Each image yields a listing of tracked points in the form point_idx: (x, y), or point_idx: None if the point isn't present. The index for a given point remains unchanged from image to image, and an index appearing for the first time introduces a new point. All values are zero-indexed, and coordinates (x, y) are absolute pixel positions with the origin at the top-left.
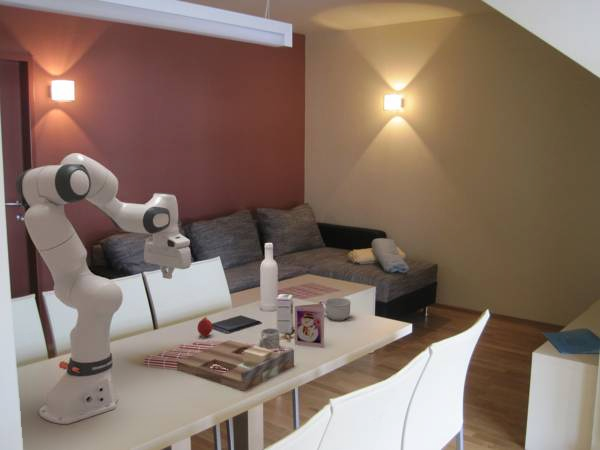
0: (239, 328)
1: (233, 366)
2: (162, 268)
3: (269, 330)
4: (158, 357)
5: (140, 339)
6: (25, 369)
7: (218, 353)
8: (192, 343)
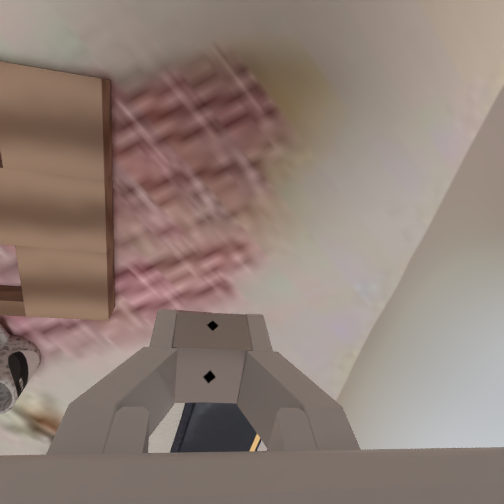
0: (191, 411)
1: None
2: (295, 417)
3: (8, 403)
4: (245, 144)
5: (388, 238)
6: None
7: (38, 216)
8: (231, 284)
